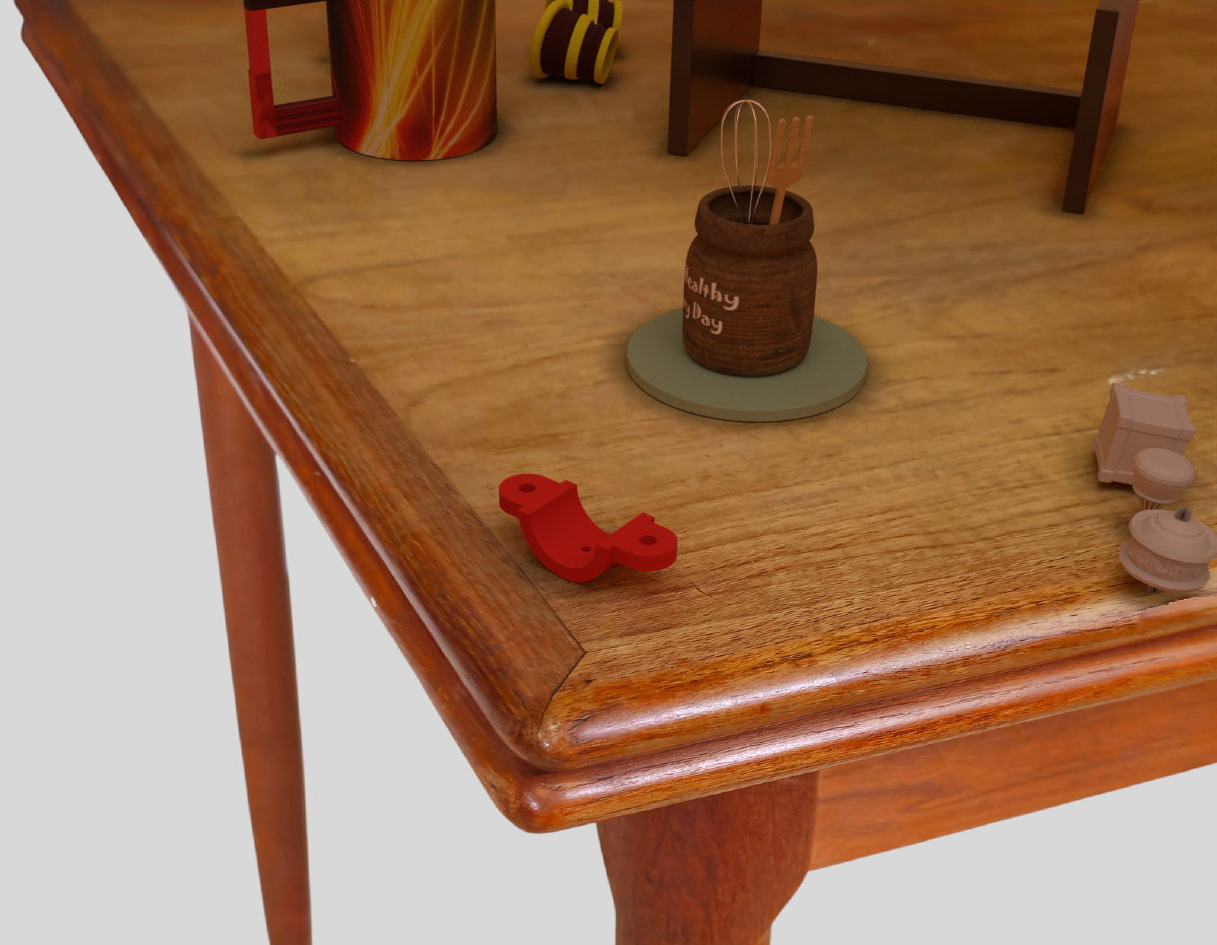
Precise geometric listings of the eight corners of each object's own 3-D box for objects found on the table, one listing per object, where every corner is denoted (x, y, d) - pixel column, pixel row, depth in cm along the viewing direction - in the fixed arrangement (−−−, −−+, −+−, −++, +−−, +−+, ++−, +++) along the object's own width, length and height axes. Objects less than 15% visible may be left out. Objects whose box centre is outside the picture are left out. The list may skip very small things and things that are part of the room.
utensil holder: (776, 315, 86) (796, 64, 79) (835, 373, 81) (862, 110, 74) (661, 332, 84) (671, 77, 78) (714, 391, 79) (730, 125, 73)
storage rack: (739, 77, 117) (750, -101, 111) (1115, 127, 111) (1149, -58, 105) (667, 153, 105) (675, -41, 99) (1083, 214, 99) (1119, 11, 93)
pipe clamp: (529, 464, 71) (530, 511, 72) (481, 493, 69) (483, 541, 70) (694, 534, 67) (692, 582, 68) (647, 566, 65) (646, 616, 66)
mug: (250, 156, 104) (230, -61, 97) (404, 94, 113) (396, -108, 106) (380, 194, 99) (368, -30, 92) (529, 126, 109) (528, -82, 102)
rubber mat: (909, 401, 80) (910, 389, 80) (680, 438, 77) (680, 425, 77) (802, 301, 89) (804, 289, 89) (592, 331, 86) (592, 319, 85)
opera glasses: (603, 104, 115) (621, 27, 112) (522, 84, 114) (537, 7, 112) (614, 57, 123) (630, -16, 120) (538, 38, 122) (553, -35, 120)
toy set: (1192, 389, 75) (1164, 466, 77) (1110, 374, 75) (1085, 451, 77) (1238, 541, 65) (1205, 624, 67) (1144, 524, 65) (1113, 607, 67)
